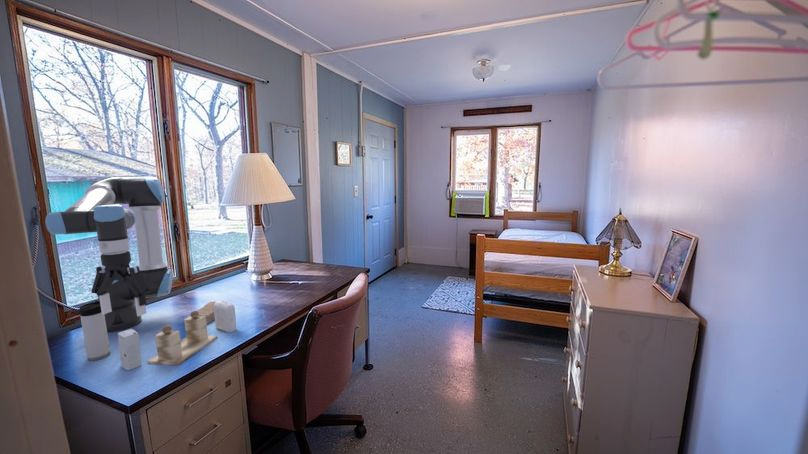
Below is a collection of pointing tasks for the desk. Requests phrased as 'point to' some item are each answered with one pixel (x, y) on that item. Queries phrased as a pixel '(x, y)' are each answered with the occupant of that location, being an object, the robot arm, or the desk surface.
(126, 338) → the skincare box
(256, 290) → the desk surface
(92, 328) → the travel mug
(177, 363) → the posts
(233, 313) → the photo printer
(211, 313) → the brick
